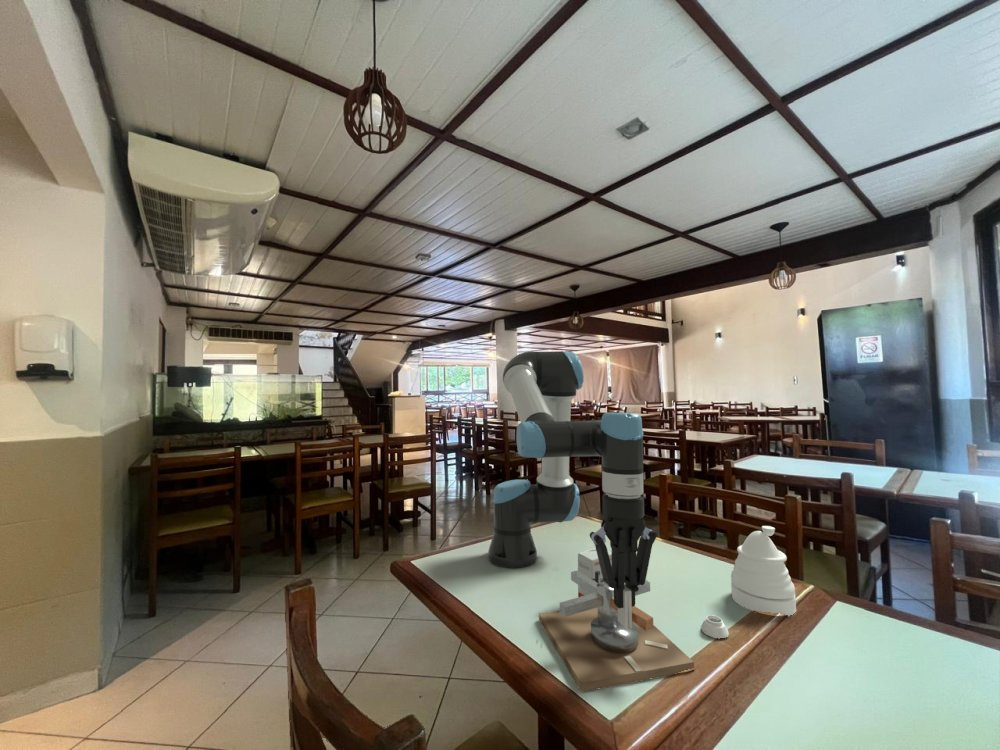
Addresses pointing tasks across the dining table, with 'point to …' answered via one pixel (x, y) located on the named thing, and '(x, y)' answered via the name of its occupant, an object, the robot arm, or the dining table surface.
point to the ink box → (590, 567)
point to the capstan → (607, 614)
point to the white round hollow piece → (714, 627)
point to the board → (610, 653)
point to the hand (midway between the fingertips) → (624, 624)
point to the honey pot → (762, 576)
